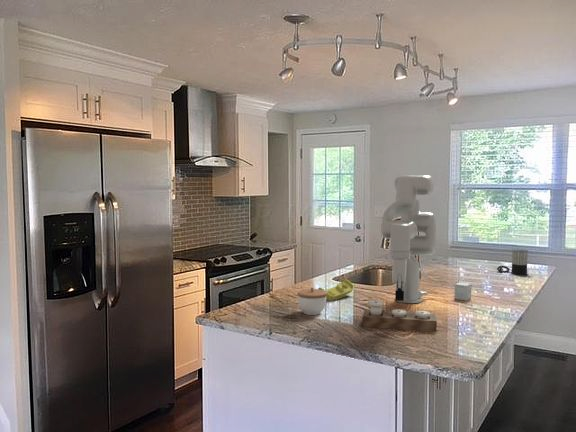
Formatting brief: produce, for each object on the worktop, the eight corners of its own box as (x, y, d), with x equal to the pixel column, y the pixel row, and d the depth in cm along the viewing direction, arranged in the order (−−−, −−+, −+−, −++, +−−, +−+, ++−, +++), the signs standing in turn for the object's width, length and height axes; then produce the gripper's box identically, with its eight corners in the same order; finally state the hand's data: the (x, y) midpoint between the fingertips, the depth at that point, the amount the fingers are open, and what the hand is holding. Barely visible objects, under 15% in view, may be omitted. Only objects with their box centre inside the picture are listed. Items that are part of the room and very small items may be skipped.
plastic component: (332, 297, 230) (317, 285, 236) (327, 309, 233) (313, 297, 239) (358, 287, 243) (343, 276, 249) (353, 299, 247) (339, 288, 253)
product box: (453, 298, 236) (454, 283, 236) (459, 296, 241) (459, 282, 240) (466, 300, 232) (466, 285, 232) (471, 298, 237) (471, 283, 236)
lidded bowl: (317, 318, 202) (318, 292, 202) (292, 314, 209) (292, 288, 208) (331, 311, 213) (331, 286, 212) (306, 307, 220) (306, 283, 219)
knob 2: (401, 321, 196) (401, 308, 196) (409, 325, 191) (409, 311, 191) (389, 322, 194) (389, 309, 194) (396, 326, 189) (397, 313, 189)
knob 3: (424, 323, 194) (424, 309, 194) (432, 326, 189) (433, 313, 188) (412, 324, 192) (412, 311, 192) (420, 328, 187) (421, 314, 187)
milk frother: (530, 275, 296) (531, 251, 295) (504, 275, 296) (505, 251, 295) (519, 271, 310) (520, 248, 309) (494, 271, 310) (495, 248, 309)
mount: (362, 326, 191) (362, 316, 191) (364, 319, 201) (364, 309, 200) (436, 331, 184) (436, 321, 184) (434, 324, 194) (435, 314, 194)
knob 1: (378, 312, 198) (378, 299, 198) (385, 316, 193) (385, 302, 192) (366, 314, 196) (366, 300, 196) (373, 317, 191) (373, 304, 190)
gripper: (390, 251, 199) (390, 294, 201) (389, 257, 184) (389, 304, 186) (409, 251, 197) (409, 295, 199) (410, 258, 183) (409, 306, 185)
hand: (399, 300), depth 193 cm, fingers closed
